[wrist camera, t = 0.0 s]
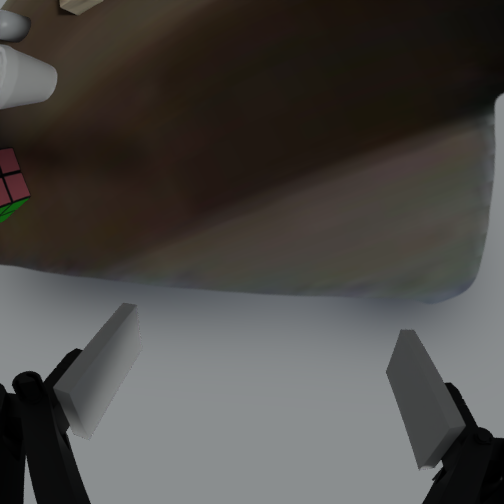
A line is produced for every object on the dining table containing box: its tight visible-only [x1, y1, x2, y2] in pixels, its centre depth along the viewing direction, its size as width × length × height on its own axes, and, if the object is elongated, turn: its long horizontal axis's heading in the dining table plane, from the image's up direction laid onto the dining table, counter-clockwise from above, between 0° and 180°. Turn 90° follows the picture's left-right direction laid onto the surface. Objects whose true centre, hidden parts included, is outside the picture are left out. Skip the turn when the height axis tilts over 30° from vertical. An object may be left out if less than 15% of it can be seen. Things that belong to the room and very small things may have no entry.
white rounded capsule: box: [0, 10, 31, 43], centre depth 30 cm, size 5×5×7 cm
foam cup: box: [0, 44, 57, 109], centre depth 31 cm, size 10×9×13 cm
